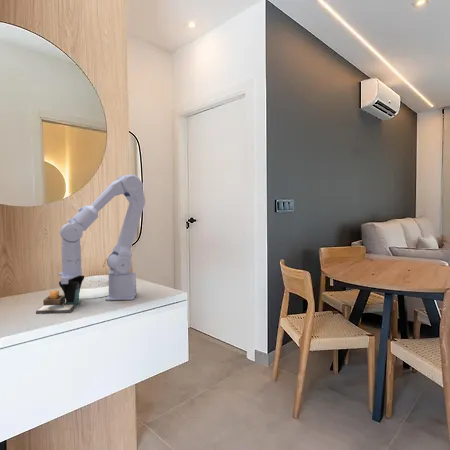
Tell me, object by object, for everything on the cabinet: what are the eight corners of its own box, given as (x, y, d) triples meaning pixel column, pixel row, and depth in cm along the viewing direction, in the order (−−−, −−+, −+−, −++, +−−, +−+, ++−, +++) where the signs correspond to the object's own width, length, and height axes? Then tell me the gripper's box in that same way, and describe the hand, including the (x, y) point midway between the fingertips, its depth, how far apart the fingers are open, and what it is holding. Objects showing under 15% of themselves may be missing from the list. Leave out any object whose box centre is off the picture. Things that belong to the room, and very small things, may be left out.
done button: (60, 299, 109) (60, 290, 109) (57, 301, 107) (57, 292, 106) (51, 299, 109) (51, 290, 109) (48, 301, 106) (48, 293, 106)
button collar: (65, 302, 111) (65, 295, 111) (59, 307, 106) (59, 299, 106) (49, 302, 110) (49, 295, 110) (43, 307, 105) (43, 300, 105)
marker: (81, 302, 111) (80, 282, 110) (77, 306, 107) (76, 285, 106) (68, 302, 110) (67, 282, 110) (64, 306, 106) (63, 285, 106)
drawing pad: (75, 307, 106) (75, 304, 106) (70, 312, 101) (70, 309, 101) (42, 308, 105) (42, 304, 105) (35, 313, 100) (35, 310, 100)
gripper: (66, 255, 114) (67, 293, 115) (49, 264, 100) (51, 307, 101) (87, 255, 115) (88, 293, 116) (74, 263, 101) (75, 306, 102)
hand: (72, 299), depth 109 cm, fingers closed on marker, 4 cm apart
